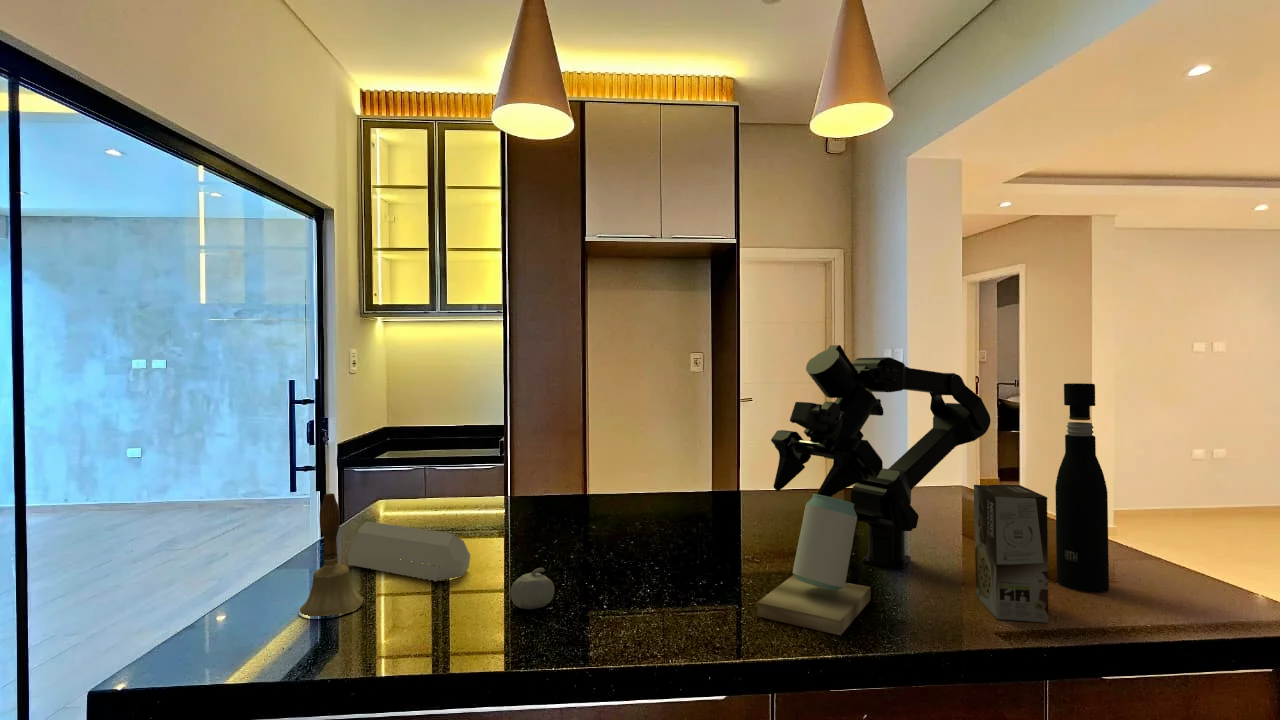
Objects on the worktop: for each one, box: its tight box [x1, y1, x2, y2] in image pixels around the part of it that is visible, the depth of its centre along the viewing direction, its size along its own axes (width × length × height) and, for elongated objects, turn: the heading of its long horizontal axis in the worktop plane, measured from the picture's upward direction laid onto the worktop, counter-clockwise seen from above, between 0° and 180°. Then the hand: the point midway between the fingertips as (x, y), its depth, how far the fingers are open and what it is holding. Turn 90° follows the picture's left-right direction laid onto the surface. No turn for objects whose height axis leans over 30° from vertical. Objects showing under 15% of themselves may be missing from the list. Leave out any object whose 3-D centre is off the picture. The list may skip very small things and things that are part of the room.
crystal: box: [347, 520, 471, 582], centre depth 105 cm, size 7×7×24 cm
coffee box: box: [973, 484, 1049, 624], centre depth 86 cm, size 9×6×16 cm
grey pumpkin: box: [510, 567, 555, 610], centre depth 89 cm, size 6×5×5 cm
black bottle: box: [1054, 382, 1110, 594], centre depth 95 cm, size 6×6×30 cm
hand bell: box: [299, 493, 364, 616], centre depth 89 cm, size 8×8×16 cm
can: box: [792, 493, 858, 591], centre depth 89 cm, size 7×7×12 cm
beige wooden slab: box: [756, 574, 871, 636], centre depth 87 cm, size 14×11×2 cm
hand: (796, 494), depth 97 cm, fingers open, 9 cm apart
